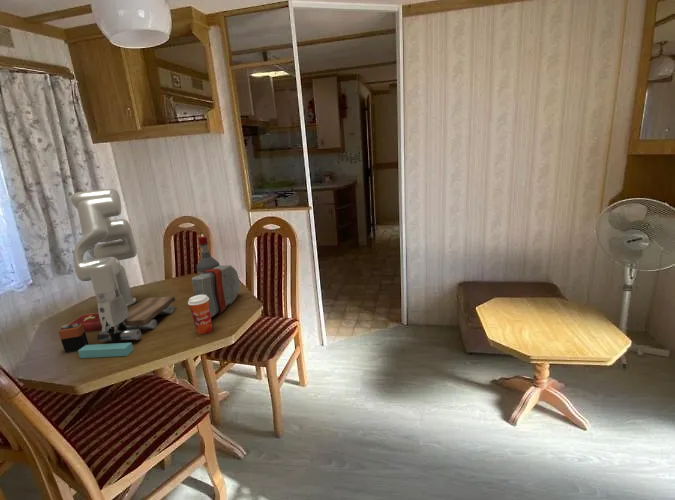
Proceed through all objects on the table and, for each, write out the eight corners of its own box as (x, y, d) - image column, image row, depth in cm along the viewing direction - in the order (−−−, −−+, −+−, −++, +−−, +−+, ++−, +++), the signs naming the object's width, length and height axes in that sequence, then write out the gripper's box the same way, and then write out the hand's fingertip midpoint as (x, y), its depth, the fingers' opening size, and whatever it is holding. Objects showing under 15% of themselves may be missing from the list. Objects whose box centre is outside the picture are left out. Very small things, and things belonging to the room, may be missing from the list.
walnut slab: (112, 326, 146) (110, 322, 146) (146, 302, 169) (145, 298, 169) (145, 324, 145) (143, 320, 144) (175, 300, 168) (174, 296, 167)
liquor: (218, 291, 186) (206, 234, 178) (227, 295, 179) (215, 236, 171) (201, 297, 179) (188, 238, 171) (209, 301, 173) (197, 240, 165)
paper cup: (195, 337, 139) (188, 303, 135) (193, 329, 145) (186, 297, 142) (216, 331, 142) (210, 298, 138) (213, 324, 149) (207, 292, 145)
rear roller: (138, 316, 164) (136, 309, 163) (143, 313, 167) (142, 305, 167) (170, 315, 162) (168, 307, 162) (174, 311, 166) (173, 303, 165)
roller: (142, 336, 142) (140, 327, 141) (136, 341, 138) (133, 332, 137) (106, 338, 143) (103, 329, 142) (99, 343, 139) (96, 334, 138)
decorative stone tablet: (203, 276, 145) (238, 260, 174) (188, 277, 146) (226, 260, 175) (209, 322, 148) (243, 299, 177) (195, 322, 150) (231, 299, 178)
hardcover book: (117, 329, 153) (115, 320, 152) (67, 335, 153) (64, 326, 152) (131, 317, 165) (129, 308, 164) (84, 322, 164) (82, 313, 163)
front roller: (118, 332, 150) (116, 324, 149) (124, 327, 154) (122, 319, 153) (153, 330, 149) (150, 322, 148) (158, 326, 153) (156, 317, 152)
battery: (70, 347, 141) (62, 324, 138) (89, 343, 142) (82, 320, 139) (64, 353, 137) (56, 329, 134) (84, 349, 138) (77, 325, 135)
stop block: (80, 358, 132) (77, 350, 131) (88, 352, 136) (85, 345, 135) (126, 355, 130) (124, 348, 129) (133, 349, 134) (131, 342, 133)
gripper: (102, 303, 127) (115, 350, 132) (131, 286, 143) (142, 328, 148) (82, 304, 128) (96, 351, 133) (113, 287, 144) (125, 329, 149)
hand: (120, 338), depth 140 cm, fingers closed on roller, 3 cm apart
